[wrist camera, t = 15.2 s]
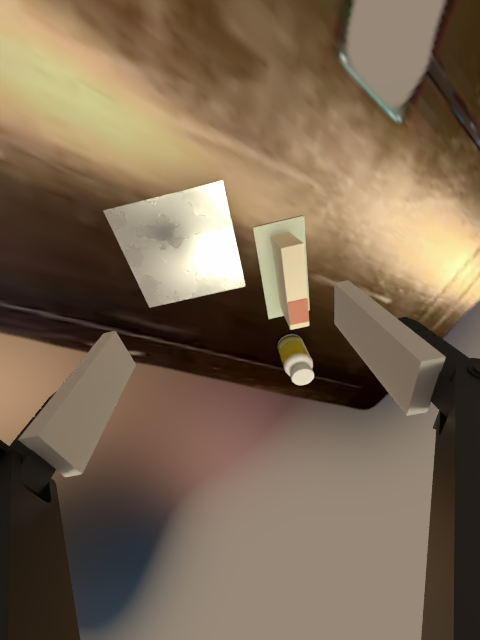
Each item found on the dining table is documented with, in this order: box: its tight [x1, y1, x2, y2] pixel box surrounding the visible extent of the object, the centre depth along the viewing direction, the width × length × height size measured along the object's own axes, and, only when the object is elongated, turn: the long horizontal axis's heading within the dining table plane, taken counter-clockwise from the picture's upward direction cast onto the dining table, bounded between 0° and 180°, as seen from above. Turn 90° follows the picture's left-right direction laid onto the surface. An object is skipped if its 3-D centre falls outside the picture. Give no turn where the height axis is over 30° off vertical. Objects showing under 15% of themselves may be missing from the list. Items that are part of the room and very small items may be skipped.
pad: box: [253, 216, 310, 319], centre depth 40 cm, size 17×8×1 cm, turn 12°
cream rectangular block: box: [270, 232, 309, 330], centre depth 36 cm, size 13×3×8 cm, turn 12°
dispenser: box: [103, 181, 245, 308], centre depth 30 cm, size 12×12×13 cm
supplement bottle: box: [278, 334, 314, 385], centre depth 44 cm, size 5×5×10 cm
